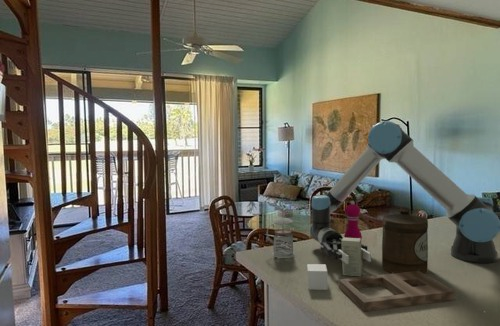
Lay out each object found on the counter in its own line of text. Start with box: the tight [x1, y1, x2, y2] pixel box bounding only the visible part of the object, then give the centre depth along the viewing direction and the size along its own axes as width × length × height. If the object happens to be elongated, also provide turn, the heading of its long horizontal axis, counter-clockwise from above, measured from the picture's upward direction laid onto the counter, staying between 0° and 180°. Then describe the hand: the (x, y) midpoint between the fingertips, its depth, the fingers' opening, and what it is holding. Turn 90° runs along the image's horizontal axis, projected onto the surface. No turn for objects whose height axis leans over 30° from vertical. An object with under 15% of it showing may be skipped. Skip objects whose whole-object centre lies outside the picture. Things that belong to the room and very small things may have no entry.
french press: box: [265, 193, 296, 259], centre depth 143 cm, size 10×12×25 cm
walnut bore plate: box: [338, 271, 456, 312], centre depth 105 cm, size 28×16×2 cm, turn 100°
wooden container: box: [381, 206, 429, 275], centre depth 124 cm, size 15×15×22 cm
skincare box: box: [341, 236, 363, 277], centre depth 121 cm, size 6×4×12 cm
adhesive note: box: [306, 263, 329, 291], centre depth 113 cm, size 6×6×6 cm
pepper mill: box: [343, 200, 363, 240], centre depth 150 cm, size 7×7×20 cm
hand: (358, 258), depth 116 cm, fingers closed on skincare box, 7 cm apart
